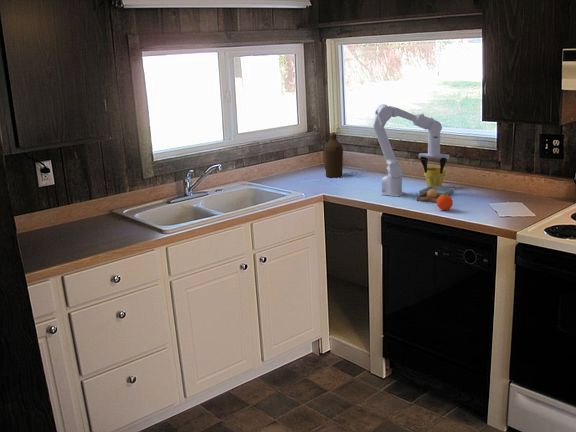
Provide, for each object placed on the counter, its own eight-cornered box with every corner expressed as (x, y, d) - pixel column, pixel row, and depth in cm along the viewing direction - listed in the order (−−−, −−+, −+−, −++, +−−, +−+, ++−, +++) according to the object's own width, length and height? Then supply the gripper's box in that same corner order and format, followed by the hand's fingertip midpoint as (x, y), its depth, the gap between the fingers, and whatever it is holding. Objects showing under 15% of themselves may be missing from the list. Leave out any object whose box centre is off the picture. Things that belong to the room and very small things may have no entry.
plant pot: (436, 190, 313) (436, 171, 310) (419, 188, 320) (419, 169, 318) (448, 187, 319) (449, 168, 317) (432, 184, 327) (432, 166, 324)
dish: (419, 195, 305) (419, 190, 304) (430, 190, 314) (430, 185, 313) (442, 198, 298) (443, 193, 297) (453, 193, 307) (453, 188, 306)
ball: (425, 199, 295) (425, 189, 294) (429, 197, 298) (429, 187, 297) (434, 199, 292) (434, 190, 291) (438, 197, 295) (438, 188, 294)
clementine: (431, 210, 278) (431, 194, 276) (438, 207, 283) (439, 191, 281) (448, 212, 273) (448, 197, 271) (455, 209, 278) (455, 193, 276)
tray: (417, 200, 295) (417, 196, 295) (425, 196, 302) (425, 192, 301) (438, 203, 289) (439, 199, 288) (447, 199, 295) (447, 195, 295)
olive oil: (347, 175, 359) (346, 131, 352) (336, 178, 351) (335, 134, 344) (331, 173, 365) (330, 130, 359) (321, 177, 357) (319, 133, 351)
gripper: (416, 145, 304) (416, 173, 307) (446, 147, 297) (446, 175, 300) (421, 143, 310) (420, 170, 313) (450, 144, 303) (450, 172, 306)
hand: (433, 172), depth 307 cm, fingers open, 7 cm apart
